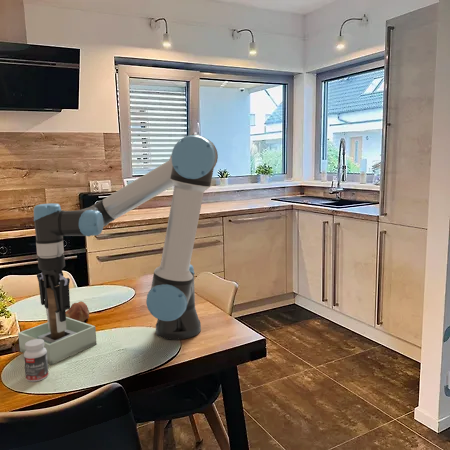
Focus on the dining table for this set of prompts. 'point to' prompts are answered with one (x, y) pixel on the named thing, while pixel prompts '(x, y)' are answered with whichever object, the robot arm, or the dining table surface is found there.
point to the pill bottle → (35, 360)
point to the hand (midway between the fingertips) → (57, 329)
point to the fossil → (78, 312)
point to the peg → (53, 315)
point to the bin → (61, 339)
